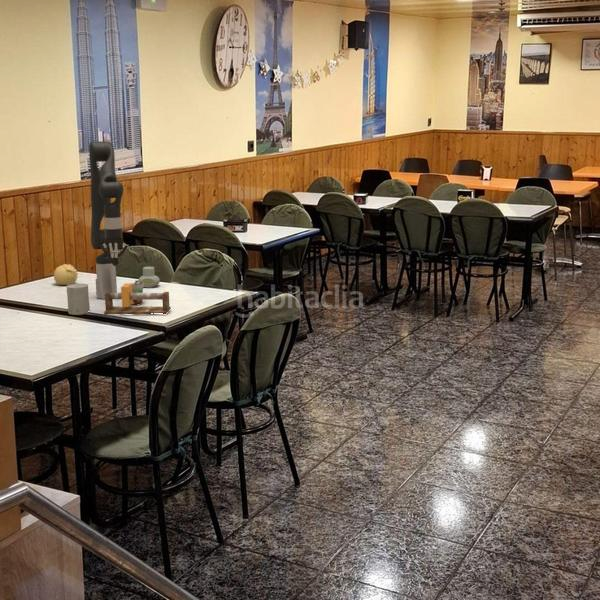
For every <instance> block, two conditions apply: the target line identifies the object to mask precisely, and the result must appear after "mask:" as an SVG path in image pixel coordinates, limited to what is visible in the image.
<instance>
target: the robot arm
mask: <svg viewBox="0 0 600 600" xmlns="http://www.w3.org/2000/svg"><path fill="white" fill-rule="evenodd" d="M88 145H89V146H88V154H89V169H90V204H91V208H90V209H91V225H90V226H91V227H90V243H91V247H92V249H94V250H102V253H101V254H99V255H97V256H95V270H96V273H95V274H96V278H95V291H96V292H95V294H96V299H100V298H101V299H100V300H105V293H107V292H112V293H118V287H117V270H116V268H117V267H118V266H119V264H120V257H122V256H123V255H124V253H125V252H126V251H127V250H128V248H129V247H130V246H129V244H126V243H125V240H124V238H123V224H122V223H123V222H122V214H121V213H122V212H121V203H122V197H123V194H124V185H123V183H121V182H120V181H118V178H117V173H116V168H115V163H116V161H115V149H114V148H115V147H114V145H113V143H112V142H111V141H108V140H107V141H101V140H100V141H97V140H96V141H94V140H93V141H91V142H90V143H89V144H88ZM99 162H104V163H103V164H102V165H101V166H100V169H99V167H98V166H99V165H98V163H99ZM112 199H114V201H112ZM103 218H104V221H103ZM102 221H103V222H104V223H103V224H104V227H103V228H104V229H101V225H102ZM121 248H122V250H121ZM120 250H121V251H120Z"/></svg>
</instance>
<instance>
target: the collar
mask: <svg viewBox="0 0 600 600" xmlns="http://www.w3.org/2000/svg"><path fill="white" fill-rule="evenodd" d="M120 291H121V292H120V293H121V295H122V299H121V304H122V305H121V306H122V307H129V306H130V305H131V304H132V303H133V300H131V299H130V296H129V293H133V292H132V283H124V284H123V285H122V286H121V287H120Z"/></svg>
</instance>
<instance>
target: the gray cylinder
mask: <svg viewBox="0 0 600 600" xmlns="http://www.w3.org/2000/svg"><path fill="white" fill-rule="evenodd" d="M65 286H66V297H67V309H68V310H67V311H68V313H67V314H69V315H73V316H74V315H75V316H79V315H85V314H84V313H87V312H88V311H90V312H91V310H90V296H89V295H90V294H89V284H88V283H74V284H71V285H65ZM87 314H88V313H87Z"/></svg>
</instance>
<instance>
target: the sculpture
mask: <svg viewBox="0 0 600 600" xmlns="http://www.w3.org/2000/svg"><path fill="white" fill-rule="evenodd" d="M53 280H54V282H55V283H56V284H57V285H60V286H67V285H71V284H76V282H77V280H78V270H77V269H76V268H75V267H74V265H72V264H69V263H68V264H67V263H63V264H62V265H59V266H57V267H55V269H54V272H53Z"/></svg>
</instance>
